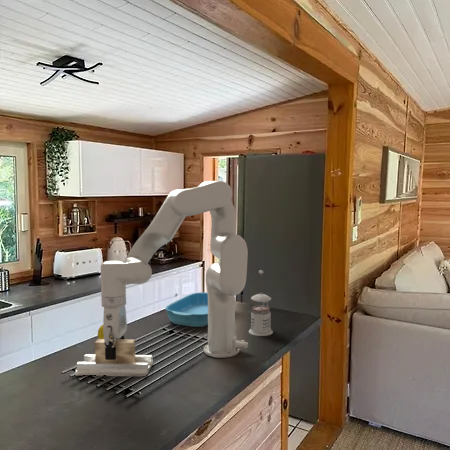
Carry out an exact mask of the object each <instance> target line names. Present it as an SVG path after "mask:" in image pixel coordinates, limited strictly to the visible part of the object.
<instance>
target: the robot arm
mask: <svg viewBox="0 0 450 450" xmlns="http://www.w3.org/2000/svg"><path fill="white" fill-rule="evenodd" d="M232 197H233V190H232V188H231V186H230V185H229V184H228V183H227V182H225V181H223V180H207V181H206V180H205V181H203V182H201V183H200V184H199V185H198V186H195V187H191V188H183V189H182V188H181V189H180V188H177V189H174V190H172V191H171V192H169V194H168V195H167V196H166V198H165V199H164V201H163V203H162V205H161V206H160V208H159V209H158V212H156V215H155V216H154V217H153V220H152V221H150V224H149V226H147V228H146V229H145V230H144V232H143V233H142V234H141V235H140V236H139V238H138V239H137V240H136V241H135V242H134V244H133V245H132V247H131V248H130V250H129V252H128V253H127V255H126V257H125V258H124V261H122V260H116V259H115V260H105V261H104V262H102V263H101V265H100V293H101V297H100V298H101V300H100V301H101V307H102V308H103V320H102V323H103V324H102V325H103V332H104V341H105V342H104V344H105V359H106V360H115V359H116V347H115V341H116V339H125V333H126V332H127V329H128V324H127V323H128V322H127V321H128V319H127V309H126V305H127V285H142V284H145V283H147V282H148V281H149V280H150V279H151V277H152V275H153V274H152V273H153V270H152V267H151V265H150V264H149V262H150V260H151V259H152V258H153V256H154V254H155V253H156V252H157V251H158V250H159V249H160V248H162V247H163V246H165V245H167V244H168V243H169V242H170V241H172V239H174V237H175V235H176V233H177V232H178V230H179V228H180V226H181V225H182V224H183V222H184V221H185V219H186V217H191V216H195V215H200V214H203V213H207V212H209V214H210V218H211V219H210V220H211V222H210V223H211V224H210V225H211V226H210V227H211V228H210V242H209V243H210V244H209V248H210V253H211V254H212V255H213V256H214V257H215V258H218V259H219V261H217V262H214V263H211V264H210V265H209V266H208V268H207V270H206V273H205V284H206V285H205V286H206V292H207V294H208V325H207V344H206V345H204V346H203V353H204V354H205V355H206V356H209V357H211V358H219V359H221V358H222V359H224V358H231V357H234V356H236V355H238V354H239V353H240V348H243V349H248V347H249V343H248V342H246V341H245V340H238V339H237V336H236V298H235V297H236V296H238V295H239V294H241V292H242V291H243V290H244V288H245V287H246V282H247V273H248V258H249V257H248V254H249V253H248V251H249V250H248V246H247V242H246V241H245V239H244V238H243V237H242V236H241V235H239V234H237V232H236V231H237V217H236V216H237V215H236V210H235V206H234V205H233V202H232ZM110 336H113V337H110ZM110 340H113V342H111V341H110Z"/></svg>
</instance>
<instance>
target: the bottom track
mask: <svg viewBox="0 0 450 450" xmlns="http://www.w3.org/2000/svg"><path fill="white" fill-rule="evenodd" d="M153 364H154V360H153V355H152V354H135V363H125V362H95V353H94V354H93V353H91V354H90V353H86V354H84V355H83V361H78V362H77V363H76V370H75V376H83V375H96V376H97V377H104V376H103V375H106V376H105V377H142V376H146V375H147V376H148V374H149V372H150V370H151V369H152V366H153ZM147 376H146V377H147Z"/></svg>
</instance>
